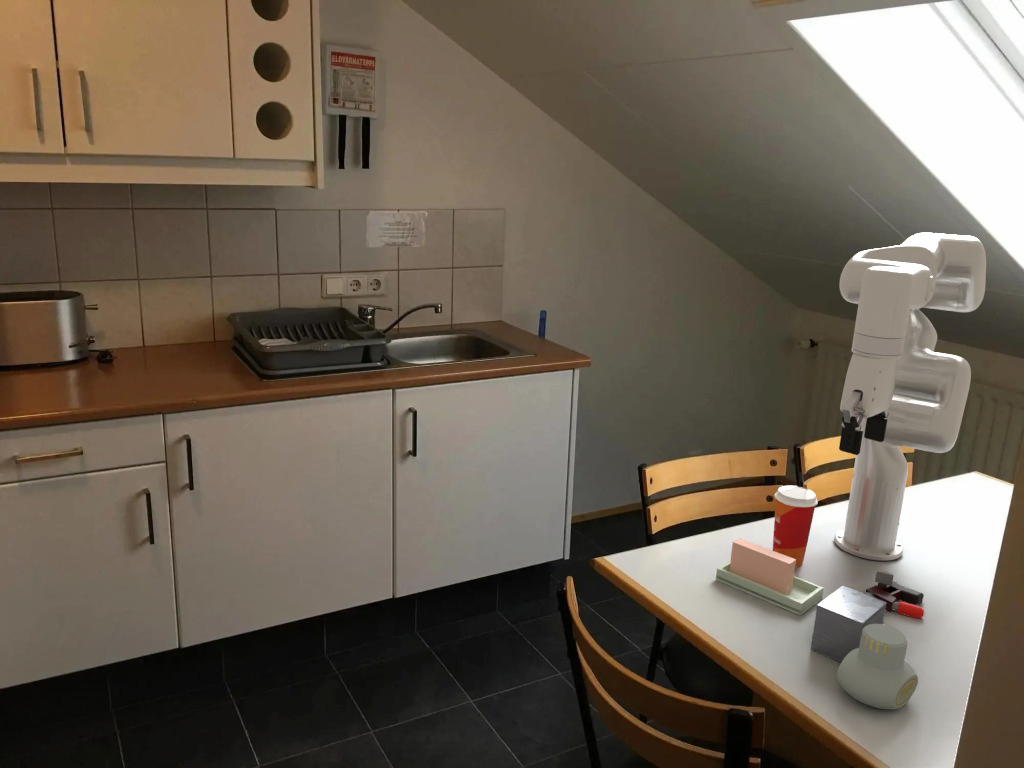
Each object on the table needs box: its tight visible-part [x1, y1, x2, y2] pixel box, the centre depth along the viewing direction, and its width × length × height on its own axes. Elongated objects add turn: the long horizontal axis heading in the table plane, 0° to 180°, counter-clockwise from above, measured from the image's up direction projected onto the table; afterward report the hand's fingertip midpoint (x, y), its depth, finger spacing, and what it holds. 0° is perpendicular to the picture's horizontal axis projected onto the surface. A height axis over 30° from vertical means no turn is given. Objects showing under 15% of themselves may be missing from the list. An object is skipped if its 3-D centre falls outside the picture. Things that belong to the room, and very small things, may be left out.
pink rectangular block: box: [729, 538, 796, 595], centre depth 149 cm, size 2×11×6 cm, turn 45°
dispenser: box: [810, 585, 887, 664], centre depth 131 cm, size 9×8×8 cm
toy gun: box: [862, 569, 925, 619], centre depth 144 cm, size 10×12×5 cm
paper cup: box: [772, 484, 818, 568], centre depth 158 cm, size 8×8×14 cm
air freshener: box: [836, 623, 919, 710], centre depth 119 cm, size 11×8×10 cm
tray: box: [715, 560, 824, 616], centre depth 149 cm, size 8×16×2 cm, turn 45°
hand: (861, 446), depth 139 cm, fingers open, 9 cm apart
